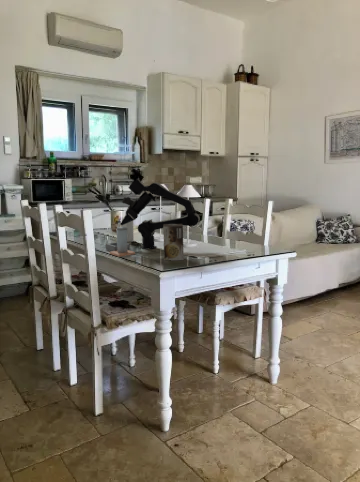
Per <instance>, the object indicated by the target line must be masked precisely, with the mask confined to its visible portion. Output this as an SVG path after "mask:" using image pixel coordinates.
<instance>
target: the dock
mask: <svg viewBox="0 0 360 482" xmlns="http://www.w3.org/2000/svg"><path fill="white" fill-rule="evenodd" d="M105 250H106V251H109V255H111V256H112V255H113V256H116V257H118V258H120V257H125V256H126V255H127V256H132V255H136V251H134V250H133V251H132V250H131V243H129V242H127V252H125V253H118V252H117V241H115V242H109V243H105Z"/></svg>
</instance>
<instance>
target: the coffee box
mask: <svg viewBox="0 0 360 482" xmlns="http://www.w3.org/2000/svg"><path fill="white" fill-rule="evenodd" d="M162 229H163V260H171V261H184V259H185V258H184V225H183V224H164V225H163V228H162Z"/></svg>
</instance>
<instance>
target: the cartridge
mask: <svg viewBox="0 0 360 482" xmlns="http://www.w3.org/2000/svg"><path fill="white" fill-rule="evenodd" d="M116 242H117V252H118V253H125V252H127V243H128V242H127V227H122V226H119V227H117V226H116Z"/></svg>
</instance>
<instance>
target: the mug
mask: <svg viewBox="0 0 360 482" xmlns="http://www.w3.org/2000/svg"><path fill="white" fill-rule="evenodd" d="M122 220H123V219H121V222H122ZM121 222H118V223H117V226H116V228H117V227H127V243H132V242H133V241H134V236H135V234H134V220H133V221H131V222H129V223H126V224H124V225H121Z"/></svg>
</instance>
